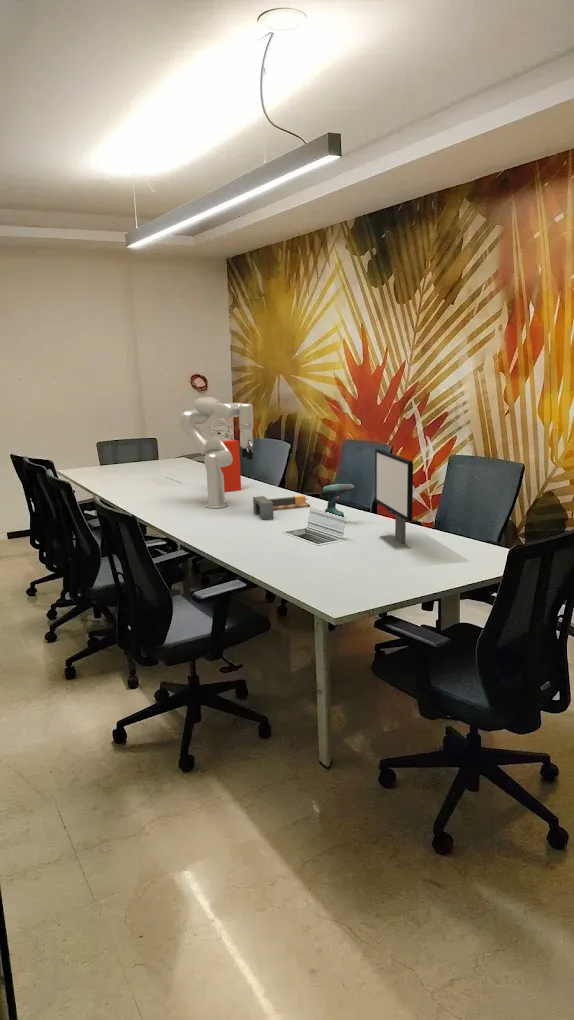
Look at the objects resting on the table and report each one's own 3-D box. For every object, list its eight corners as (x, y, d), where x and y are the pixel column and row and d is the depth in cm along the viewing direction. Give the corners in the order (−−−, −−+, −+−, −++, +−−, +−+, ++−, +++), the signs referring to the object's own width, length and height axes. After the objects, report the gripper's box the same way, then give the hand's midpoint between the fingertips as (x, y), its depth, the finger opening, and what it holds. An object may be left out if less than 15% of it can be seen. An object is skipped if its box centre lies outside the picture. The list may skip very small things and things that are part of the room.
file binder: (212, 490, 424) (209, 441, 416) (237, 488, 430) (235, 439, 422) (215, 493, 416) (212, 443, 409) (241, 490, 422) (239, 441, 415)
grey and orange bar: (268, 506, 367) (268, 499, 366) (266, 505, 371) (266, 498, 371) (307, 503, 374) (307, 496, 373) (305, 501, 378) (304, 494, 377)
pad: (266, 511, 362) (266, 509, 362) (259, 506, 375) (259, 504, 375) (310, 506, 370) (310, 504, 370) (302, 502, 383) (302, 500, 383)
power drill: (352, 524, 328) (352, 485, 324) (321, 522, 334) (320, 484, 329) (355, 521, 335) (355, 482, 330) (325, 519, 340) (324, 481, 336)
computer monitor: (370, 532, 313) (370, 449, 304) (387, 530, 315) (387, 448, 306) (402, 556, 274) (403, 462, 265) (421, 554, 276) (423, 460, 267)
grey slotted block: (262, 520, 342) (261, 503, 340) (253, 513, 359) (252, 497, 357) (273, 519, 344) (272, 502, 342) (264, 511, 361) (263, 496, 359)
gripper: (235, 425, 359) (236, 456, 363) (244, 428, 343) (245, 461, 347) (248, 424, 361) (249, 455, 365) (257, 428, 346) (258, 460, 350)
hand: (247, 458), depth 356 cm, fingers open, 9 cm apart
